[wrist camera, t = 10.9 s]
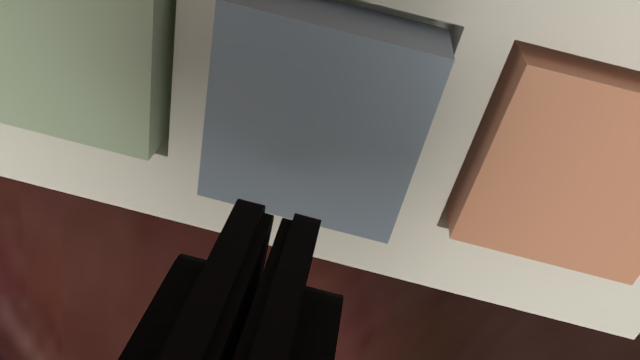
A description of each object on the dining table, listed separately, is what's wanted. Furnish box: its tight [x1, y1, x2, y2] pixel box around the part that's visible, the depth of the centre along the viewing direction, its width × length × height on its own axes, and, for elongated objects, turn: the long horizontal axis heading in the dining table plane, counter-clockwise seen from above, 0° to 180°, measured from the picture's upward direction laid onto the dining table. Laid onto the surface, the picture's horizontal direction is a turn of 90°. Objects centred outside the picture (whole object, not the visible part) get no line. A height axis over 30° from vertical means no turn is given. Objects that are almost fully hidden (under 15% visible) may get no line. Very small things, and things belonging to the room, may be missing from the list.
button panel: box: [0, 0, 640, 339], centre depth 18 cm, size 12×26×4 cm, turn 78°
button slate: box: [197, 0, 455, 244], centre depth 16 cm, size 6×6×2 cm
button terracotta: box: [446, 40, 640, 285], centre depth 17 cm, size 6×6×2 cm
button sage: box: [0, 0, 177, 161], centre depth 17 cm, size 6×6×2 cm
